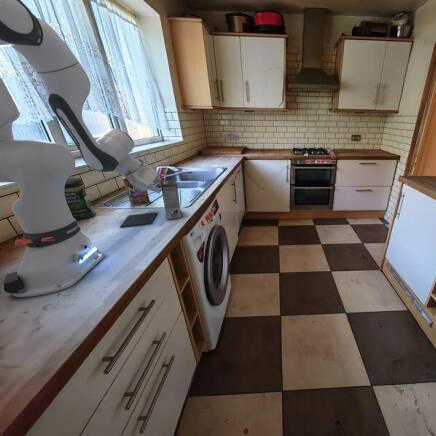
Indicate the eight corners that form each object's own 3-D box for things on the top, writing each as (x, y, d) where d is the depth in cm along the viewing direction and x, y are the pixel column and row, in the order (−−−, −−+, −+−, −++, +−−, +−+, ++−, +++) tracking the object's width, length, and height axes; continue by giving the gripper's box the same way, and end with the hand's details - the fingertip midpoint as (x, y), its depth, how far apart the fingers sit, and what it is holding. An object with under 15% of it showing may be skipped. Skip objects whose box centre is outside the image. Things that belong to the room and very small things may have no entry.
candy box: (131, 207, 119) (122, 178, 112) (131, 204, 122) (122, 176, 115) (150, 203, 123) (142, 176, 116) (150, 201, 126) (142, 174, 120)
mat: (151, 223, 101) (151, 222, 101) (120, 227, 98) (119, 226, 98) (157, 213, 111) (157, 212, 111) (129, 216, 108) (129, 215, 108)
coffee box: (165, 212, 111) (160, 180, 105) (179, 210, 114) (175, 179, 108) (166, 219, 104) (160, 185, 98) (181, 217, 107) (177, 184, 101)
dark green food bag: (66, 221, 103) (47, 182, 95) (74, 214, 110) (57, 177, 102) (92, 218, 106) (75, 179, 98) (98, 211, 113) (83, 175, 105)
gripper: (127, 169, 87) (162, 190, 94) (142, 158, 104) (170, 177, 111) (118, 181, 88) (153, 201, 95) (134, 168, 105) (162, 187, 112)
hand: (162, 188), depth 103 cm, fingers open, 8 cm apart
